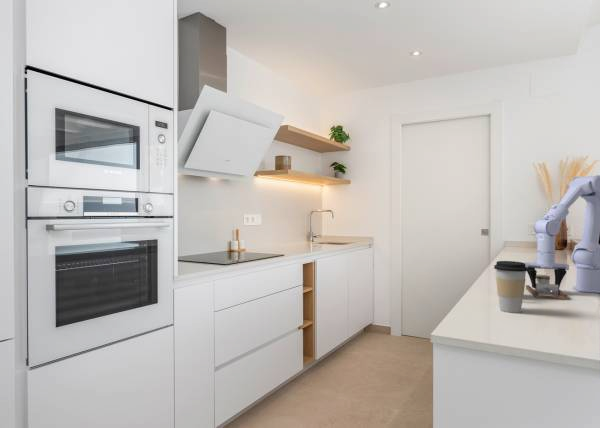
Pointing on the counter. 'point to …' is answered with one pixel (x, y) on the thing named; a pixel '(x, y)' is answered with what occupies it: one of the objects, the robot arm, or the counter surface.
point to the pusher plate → (547, 289)
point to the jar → (542, 279)
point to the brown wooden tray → (561, 296)
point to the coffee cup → (510, 285)
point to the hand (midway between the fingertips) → (545, 288)
